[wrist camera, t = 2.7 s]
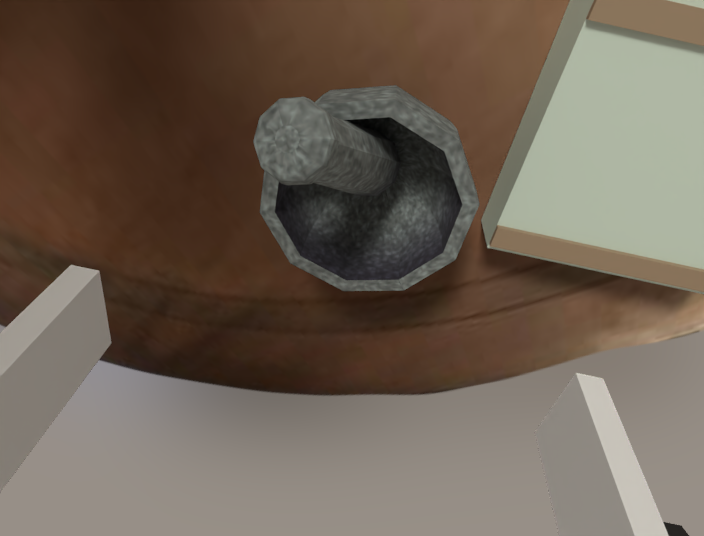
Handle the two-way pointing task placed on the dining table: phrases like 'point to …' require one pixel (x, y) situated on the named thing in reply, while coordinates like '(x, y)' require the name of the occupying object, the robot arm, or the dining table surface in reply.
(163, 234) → the dining table surface
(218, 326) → the dining table surface
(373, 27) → the dining table surface
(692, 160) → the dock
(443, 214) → the mortar and pestle
